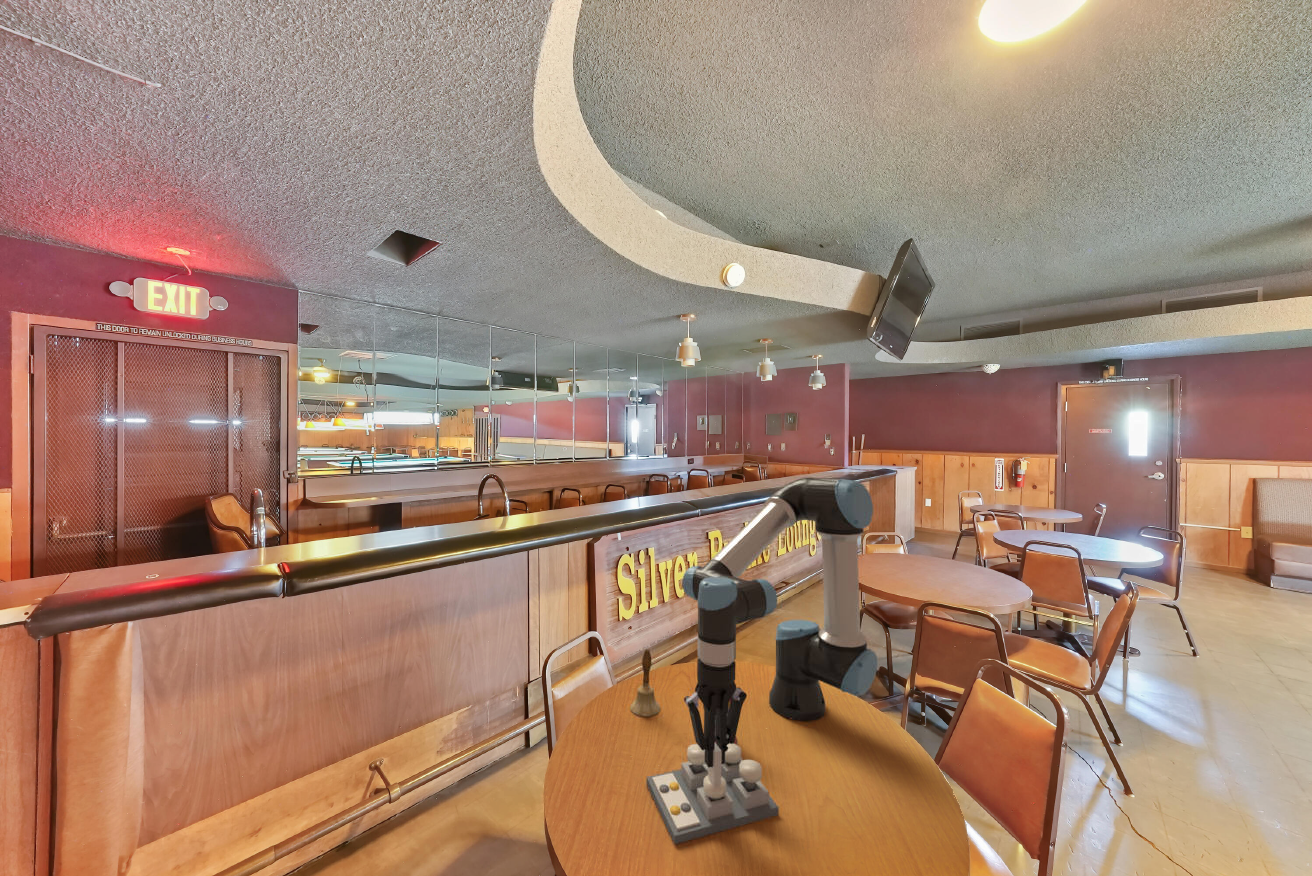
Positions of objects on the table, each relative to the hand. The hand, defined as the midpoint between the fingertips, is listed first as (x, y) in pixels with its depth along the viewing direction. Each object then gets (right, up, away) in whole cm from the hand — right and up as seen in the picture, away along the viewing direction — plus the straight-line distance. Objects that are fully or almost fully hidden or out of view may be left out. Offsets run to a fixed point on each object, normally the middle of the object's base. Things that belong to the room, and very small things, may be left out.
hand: (714, 780), depth 91 cm
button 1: (+5, -5, +10) cm, 12 cm away
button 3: (-3, -3, +8) cm, 9 cm away
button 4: (0, -4, 0) cm, 4 cm away
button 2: (+8, -3, +3) cm, 9 cm away
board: (0, -7, +4) cm, 8 cm away
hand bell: (-14, -8, +37) cm, 41 cm away
